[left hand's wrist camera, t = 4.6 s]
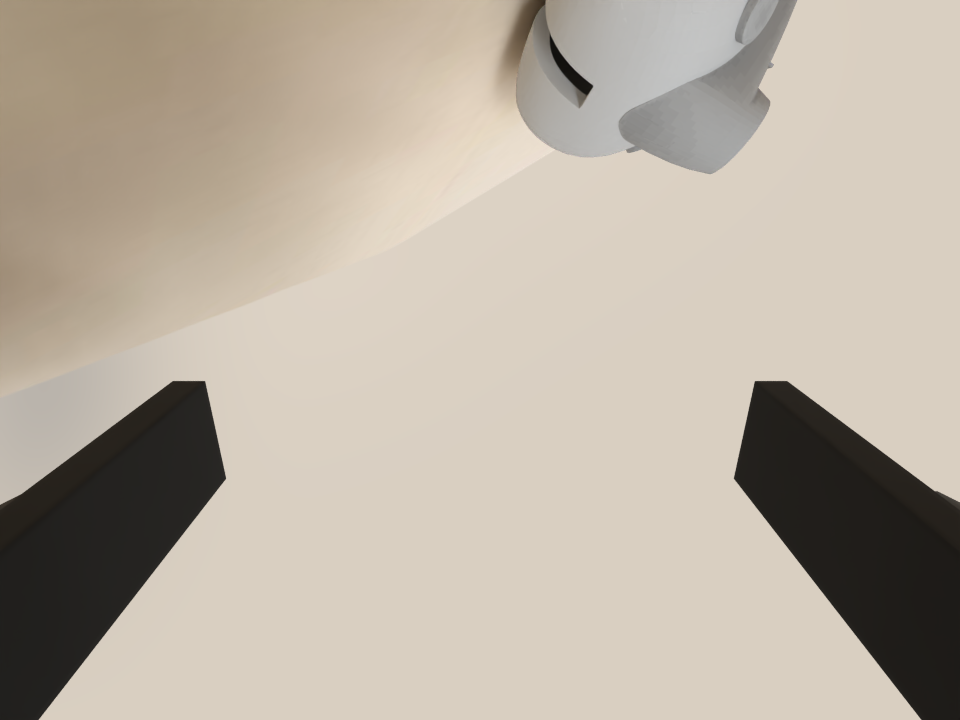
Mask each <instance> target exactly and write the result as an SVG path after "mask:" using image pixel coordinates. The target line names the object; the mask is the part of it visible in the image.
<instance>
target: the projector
mask: <svg viewBox="0 0 960 720" xmlns="http://www.w3.org/2000/svg"><path fill="white" fill-rule="evenodd" d="M796 2H797V0H546V4H545V5H544V6H543V7H542V8H541V9H540V10H539V11H538V13H537V15H536V17H535V19H534V22H533V25H532V27H531V30H530V32H529V35H528V38H527V41H526V44H525V47H524V50H523V53H522V57H521V60H520V64H519V68H518V74H517V81H516V101H517V106H518V109H519V112H520V114H521V116H522V118H523V120H524V122H525V123H526V125H527V126H528V128H529V129H530V130H531V131H532V132H533V133H534V134H535V135H536V136H537V137H538V138H539V139H540V140H541V141H543V142H544V143H546V144H547V145H549V146H550V147H552V148H554V149H556V150H558V151H561V152H563V153H566V154H570V155H574V156H579V157H600V156H607V155H611V154H614V153H617V152H620V151H623V150H626V151H627V152H628V153H631V152H635V151H638V150H641V149H643V150H644V151H646V152H648V153H650V154H652V155H655V156H657V157H659V158H661V159H663V160H665V161H668V162H670V163H673V164H675V165H678V166H681V167H684V168H687V169H690V170H694V171H699V172H703V173H707V174H712V173H715V172H716V171H718V170H719V169H721V168H722V167H723V166H725V165H726V164H727V163H728V162H729V161H730V160H731V159H732V158H733V157H734V156H735V155H736V154H737V153H738V152H739V151H740V150H741V149H742V148H743V146H744V145H745V144H746V143H747V142H748V140H749V139H750V138H751V137H752V135H753V134H754V133H755V131H756V130H757V128H758V127H759V125H760V124H761V122H762V121H763V119H764V118H765V116H766V114H767V112H768V109H769V106H770V101H769V99H768V98H767V97H766V96H765V95H764V94H763V93H762V92H761V91H760V89H759V88H758V87H759V85H760V83H761V81H762V79H763V76H764V74H765V72H766V70H767V69H768V68H772V67H773V64H772V63H771V60H772V58H773V56H774V53H775V51H776V49H777V47H778V44H779V42H780V40H781V38H782V35H783V33H784V31H785V28H786V26H787V24H788V21H789V19H790V17H791V14H792V12H793V9H794V7H795V4H796Z"/></svg>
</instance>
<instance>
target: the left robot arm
mask: <svg viewBox="0 0 960 720" xmlns="http://www.w3.org/2000/svg"><path fill="white" fill-rule="evenodd" d="M225 479H226V476H225V471H224V467H223V462H222V457H221V453H220V448H219V444H218V439H217V434H216V430H215V425H214V420H213V416H212V411H211V407H210V402H209V397H208V393H207V388H206V383H205V381H173V382H171V383H170V384H169V385H167V386H166V387H164V388H163V389H162V390H160V391H159V392H158V393H157V394H155V395H154V396H152V397H151V398H150V399H148V400H147V401H146V402H144V403H143V404H142V405H140V406H139V407H138V408H136V409H135V410H134V411H132V412H131V413H130V414H128V415H127V416H126V417H124V418H123V419H122V420H120V421H119V422H118V423H116V424H115V425H114V426H112V427H111V428H110V429H108V430H107V431H105V432H104V433H103V434H102V435H100V436H99V437H97V438H96V439H95V440H93V441H92V442H91V443H89V444H88V445H87V446H85V447H84V448H83V449H81V450H80V451H79V452H77V453H76V454H75V455H73V456H72V457H71V458H69V459H68V460H67V461H65V462H64V463H63V464H61V465H60V466H59V467H57V468H56V469H55V470H53V471H52V472H51V473H49V474H48V475H47V476H45V477H44V478H43V479H41V480H40V481H38V482H37V483H36V484H35V485H33V486H32V487H31V488H29V489H28V490H26V491H25V492H24V493H22V494H21V495H19V496H17V497H15V498H13V499H11V500H9V501H7V502H5V503H3V504H1V505H0V720H39V718H40V717H41V716H42V715H43V713H44V712H45V711H46V710H47V708H48V707H49V706H50V704H51V703H52V702H53V701H54V699H55V698H56V697H57V695H58V694H59V693H60V692H61V690H62V689H63V688H64V686H65V685H66V684H67V683H68V681H69V680H70V679H71V677H72V676H73V675H74V673H75V672H76V671H77V670H78V668H79V667H80V666H81V665H82V663H83V662H84V661H85V659H86V658H87V657H88V656H89V654H90V653H91V652H92V650H93V649H94V648H95V646H96V645H97V644H98V643H99V641H100V640H101V639H102V637H103V636H104V635H105V634H106V632H107V631H108V630H109V628H110V627H111V626H112V625H113V623H114V622H115V621H116V619H117V618H118V617H119V616H120V614H121V613H122V612H123V610H124V609H125V608H126V607H127V605H128V604H129V603H130V601H131V600H132V599H133V598H134V596H135V595H136V594H137V592H138V591H139V590H140V589H141V587H142V586H143V585H144V583H145V582H146V581H147V580H148V578H149V577H150V576H151V574H152V573H153V572H154V571H155V569H156V568H157V567H158V565H159V564H160V563H161V562H162V560H163V559H164V558H165V556H166V555H167V554H168V553H169V551H170V550H171V549H172V547H173V546H174V545H175V544H176V542H177V541H178V540H179V538H180V537H181V536H182V535H183V533H184V532H185V531H186V529H187V528H188V527H189V526H190V524H191V523H192V522H193V520H194V519H195V518H196V517H197V515H198V514H199V513H200V511H201V510H202V509H203V508H204V506H205V505H206V504H207V502H208V501H209V500H210V499H211V497H212V496H213V495H214V493H215V492H216V491H217V490H218V488H219V487H220V486H221V484H222V483H223V482H224V481H225ZM734 479H735V481H736V482H737V483H738V484H739V486H740V487H741V488H742V490H743V491H744V492H745V493H746V495H747V496H748V497H749V499H750V500H751V501H752V502H753V504H754V505H755V506H756V508H757V509H758V510H759V511H760V513H761V514H762V515H763V517H764V518H765V519H766V520H767V522H768V523H769V524H770V526H771V527H772V528H773V529H774V531H775V532H776V533H777V535H778V536H779V537H780V538H781V540H782V541H783V542H784V544H785V545H786V546H787V547H788V549H789V550H790V551H791V553H792V554H793V555H794V556H795V558H796V559H797V560H798V562H799V563H800V564H801V565H802V567H803V568H804V569H805V571H806V572H807V573H808V574H809V576H810V577H811V578H812V580H813V581H814V582H815V583H816V585H817V586H818V587H819V589H820V590H821V591H822V592H823V594H824V595H825V596H826V598H827V599H828V600H829V601H830V603H831V604H832V605H833V607H834V608H835V609H836V610H837V612H838V613H839V614H840V616H841V617H842V618H843V619H844V621H845V622H846V623H847V625H848V626H849V627H850V628H851V630H852V631H853V632H854V634H855V635H856V636H857V637H858V639H859V640H860V641H861V643H862V644H863V645H864V646H865V648H866V649H867V650H868V652H869V653H870V654H871V655H872V657H873V658H874V659H875V661H876V662H877V663H878V664H879V666H880V667H881V668H882V670H883V671H884V672H885V674H886V675H887V676H888V677H889V679H890V680H891V681H892V683H893V684H894V685H895V686H896V688H897V689H898V690H899V692H900V693H901V694H902V695H903V697H904V698H905V699H906V700H907V702H908V703H909V704H910V706H911V707H912V708H913V709H914V711H915V712H916V713H917V715H918V716H919V717H920V719H921V720H960V502H958V501H956V500H954V499H952V498H950V497H948V496H946V495H944V494H942V493H940V492H938V491H934V490H932V489H931V488H930V487H928V486H927V485H925V484H924V483H923V482H922V481H920V480H919V479H917V478H916V477H915V476H913V475H912V474H911V473H909V472H908V471H907V470H905V469H904V468H903V467H901V466H900V465H899V464H897V463H896V462H895V461H893V460H892V459H891V458H889V457H888V456H887V455H885V454H884V453H883V452H881V451H880V450H879V449H877V448H876V447H875V446H873V445H872V444H871V443H869V442H868V441H867V440H865V439H864V438H863V437H861V436H860V435H859V434H857V433H856V432H854V431H853V430H852V429H850V428H849V427H848V426H846V425H845V424H844V423H842V422H841V421H840V420H838V419H837V418H836V417H834V416H833V415H832V414H830V413H829V412H828V411H826V410H825V409H824V408H822V407H821V406H820V405H818V404H817V403H816V402H814V401H813V400H812V399H810V398H809V397H808V396H806V395H805V394H804V393H802V392H801V391H800V390H798V389H797V388H796V387H794V386H793V385H792V384H790V383H789V382H787V381H755V383H754V388H753V393H752V397H751V402H750V407H749V411H748V416H747V420H746V425H745V430H744V434H743V439H742V444H741V448H740V453H739V457H738V462H737V467H736V471H735V476H734Z"/></svg>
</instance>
